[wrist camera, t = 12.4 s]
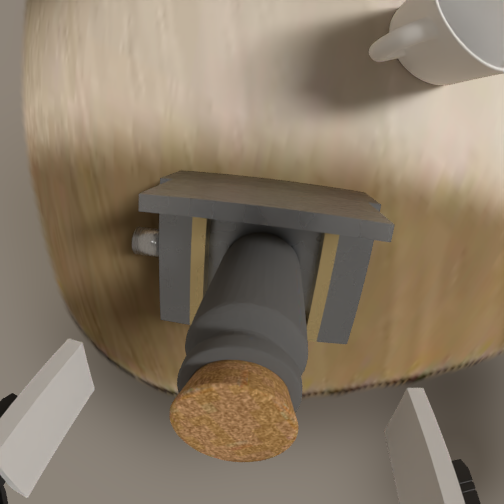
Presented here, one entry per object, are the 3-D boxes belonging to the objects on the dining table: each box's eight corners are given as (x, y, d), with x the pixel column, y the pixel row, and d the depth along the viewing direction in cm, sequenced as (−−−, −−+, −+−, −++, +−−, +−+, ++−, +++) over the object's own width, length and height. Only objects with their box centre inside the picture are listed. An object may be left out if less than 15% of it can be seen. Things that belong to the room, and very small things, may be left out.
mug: (375, 109, 24) (424, 97, 14) (333, 25, 22) (357, -27, 12) (477, 76, 21) (545, 64, 12) (440, 0, 19) (493, -39, 9)
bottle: (293, 225, 23) (305, 363, 9) (305, 297, 25) (318, 465, 11) (214, 238, 24) (128, 374, 10) (231, 307, 26) (183, 468, 12)
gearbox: (149, 168, 28) (81, 189, 17) (364, 192, 27) (410, 227, 16) (149, 288, 32) (99, 352, 21) (339, 314, 31) (358, 392, 20)
